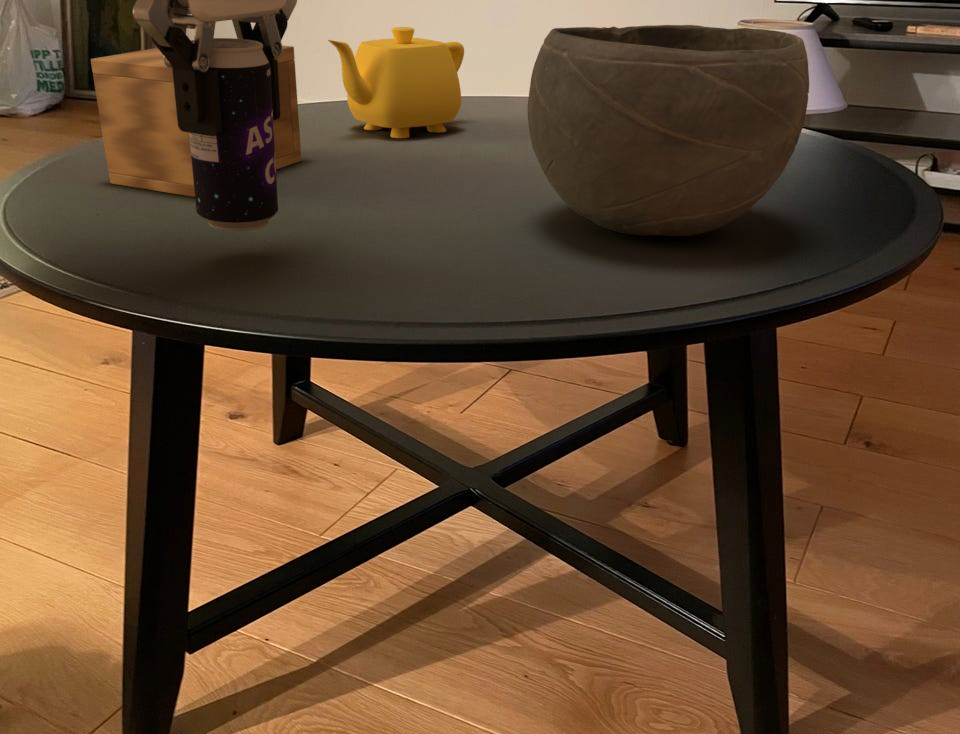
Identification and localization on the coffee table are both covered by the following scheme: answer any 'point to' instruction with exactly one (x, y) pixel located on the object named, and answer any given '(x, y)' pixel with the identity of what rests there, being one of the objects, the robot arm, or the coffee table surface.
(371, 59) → the teapot
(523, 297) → the coffee table surface
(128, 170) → the small wooden crate
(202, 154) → the beverage can
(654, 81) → the bowl
